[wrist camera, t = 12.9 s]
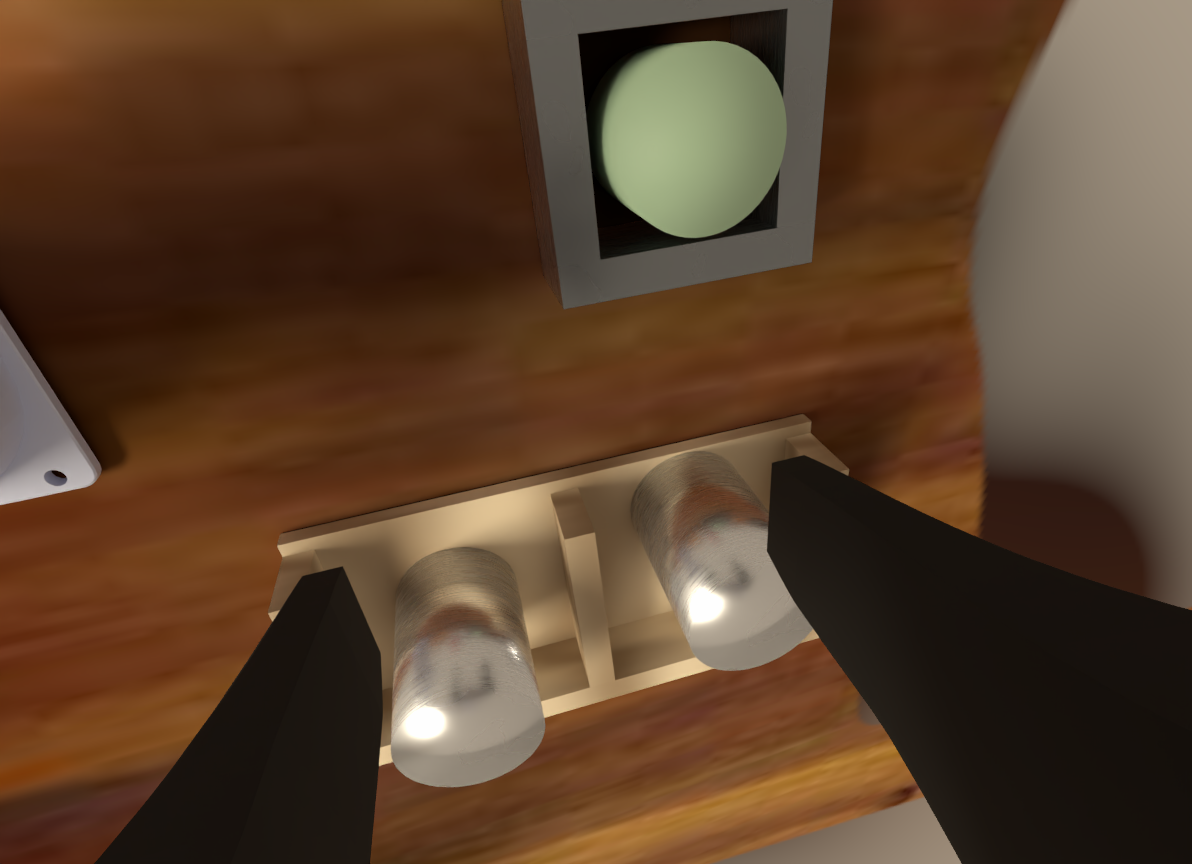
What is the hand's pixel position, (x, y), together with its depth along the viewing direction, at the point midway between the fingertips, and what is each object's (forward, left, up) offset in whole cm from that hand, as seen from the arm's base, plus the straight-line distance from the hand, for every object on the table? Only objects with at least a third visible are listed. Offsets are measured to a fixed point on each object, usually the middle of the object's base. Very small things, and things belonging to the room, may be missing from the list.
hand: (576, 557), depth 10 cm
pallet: (+1, -10, -10) cm, 14 cm away
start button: (+5, +5, -10) cm, 12 cm away
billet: (+6, -8, -10) cm, 14 cm away
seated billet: (-4, -10, -10) cm, 14 cm away
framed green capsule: (+5, +5, -10) cm, 13 cm away
